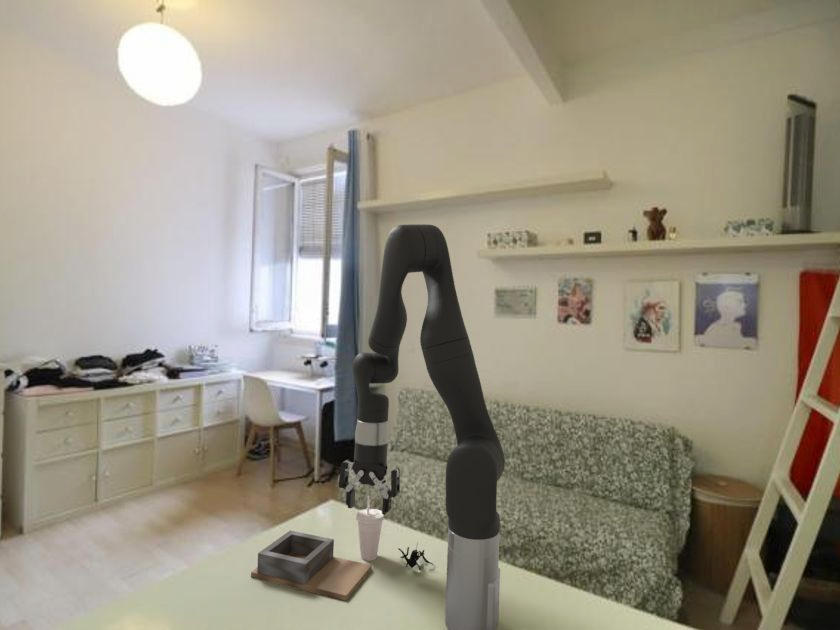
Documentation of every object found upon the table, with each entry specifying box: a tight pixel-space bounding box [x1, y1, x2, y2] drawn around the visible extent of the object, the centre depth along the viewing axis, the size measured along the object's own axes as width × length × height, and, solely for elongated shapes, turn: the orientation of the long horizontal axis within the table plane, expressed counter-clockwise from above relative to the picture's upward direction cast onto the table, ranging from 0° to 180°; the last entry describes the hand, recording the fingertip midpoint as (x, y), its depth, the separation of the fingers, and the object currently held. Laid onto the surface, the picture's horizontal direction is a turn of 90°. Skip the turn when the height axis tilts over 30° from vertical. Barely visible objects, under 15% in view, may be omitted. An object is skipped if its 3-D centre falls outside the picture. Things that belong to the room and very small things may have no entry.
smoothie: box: [355, 494, 385, 561], centre depth 106 cm, size 6×6×14 cm
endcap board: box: [250, 530, 373, 602], centre depth 98 cm, size 22×12×5 cm, turn 72°
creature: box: [397, 542, 434, 571], centre depth 103 cm, size 8×5×8 cm
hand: (367, 510), depth 106 cm, fingers open, 8 cm apart
